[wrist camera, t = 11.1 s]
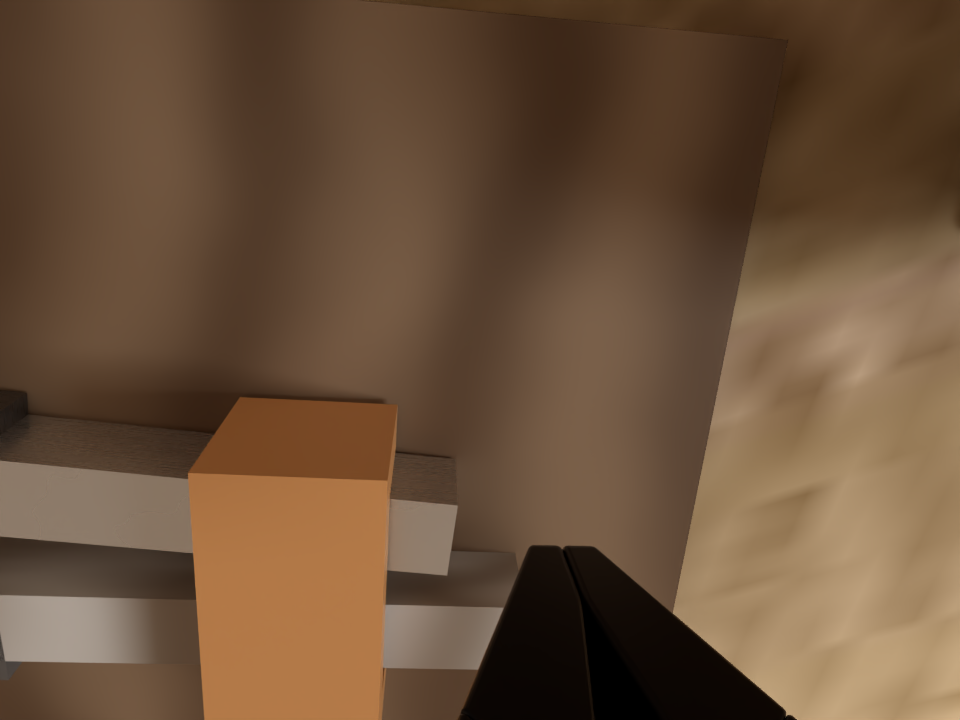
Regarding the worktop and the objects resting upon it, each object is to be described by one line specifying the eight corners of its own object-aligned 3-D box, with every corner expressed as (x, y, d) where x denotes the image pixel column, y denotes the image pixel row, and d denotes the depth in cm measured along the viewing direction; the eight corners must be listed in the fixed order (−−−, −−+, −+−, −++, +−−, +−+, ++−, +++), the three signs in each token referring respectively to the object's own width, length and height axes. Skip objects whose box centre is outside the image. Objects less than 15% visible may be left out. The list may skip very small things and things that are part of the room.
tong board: (768, 44, 17) (844, 28, 14) (634, 737, 24) (664, 832, 21) (-405, -65, 15) (-634, -112, 12) (-171, 729, 22) (-274, 833, 19)
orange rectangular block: (397, 404, 18) (387, 480, 15) (386, 658, 21) (376, 778, 17) (239, 397, 18) (188, 473, 14) (249, 655, 21) (208, 777, 17)
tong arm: (458, 438, 19) (461, 483, 17) (445, 522, 20) (446, 575, 18) (-101, 378, 17) (-180, 418, 15) (-89, 471, 18) (-163, 522, 16)
